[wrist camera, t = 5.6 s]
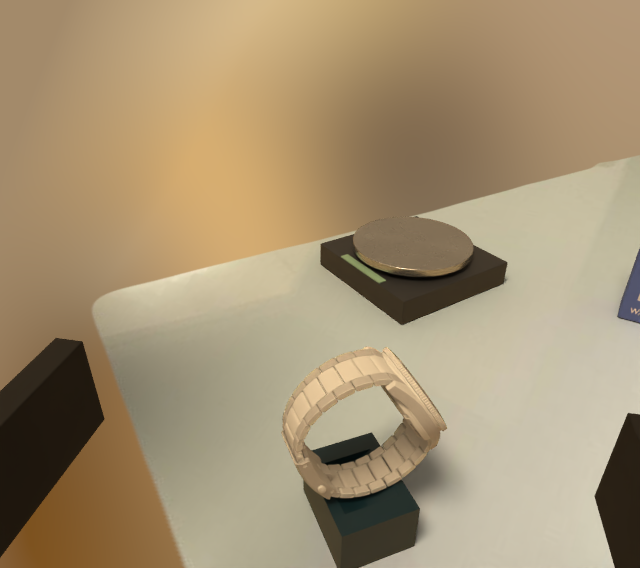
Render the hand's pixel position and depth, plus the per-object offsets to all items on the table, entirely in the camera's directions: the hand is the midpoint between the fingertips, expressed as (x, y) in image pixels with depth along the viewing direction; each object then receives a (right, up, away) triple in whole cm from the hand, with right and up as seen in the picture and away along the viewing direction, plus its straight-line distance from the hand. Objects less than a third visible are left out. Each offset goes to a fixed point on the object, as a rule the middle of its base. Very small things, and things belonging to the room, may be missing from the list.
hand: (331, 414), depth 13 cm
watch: (+2, -10, +17) cm, 20 cm away
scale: (+9, +4, +41) cm, 42 cm away
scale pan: (+9, +7, +39) cm, 41 cm away
